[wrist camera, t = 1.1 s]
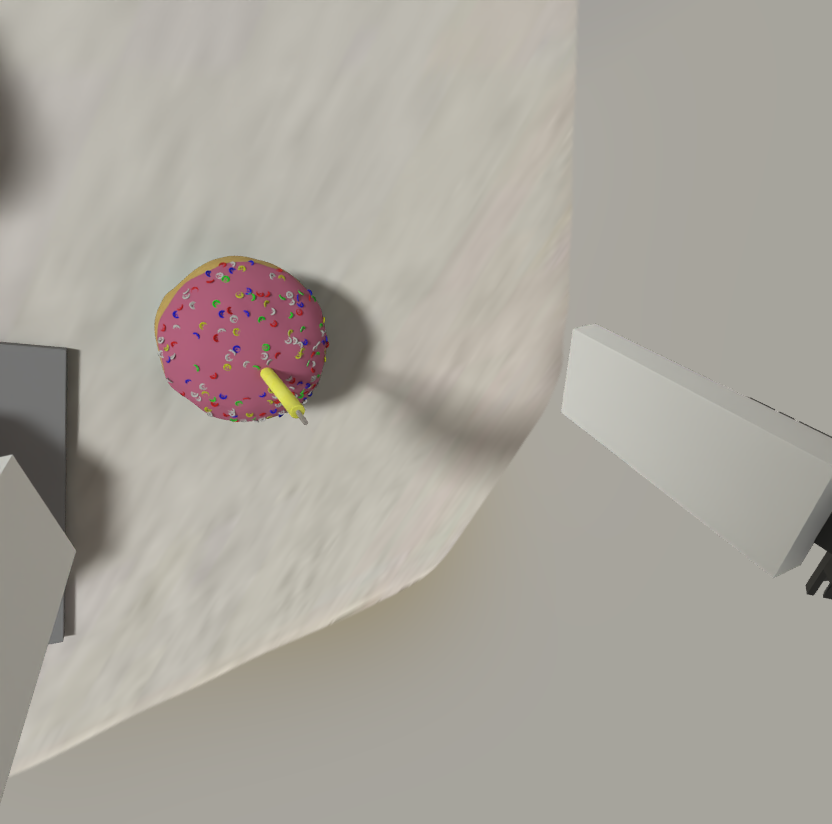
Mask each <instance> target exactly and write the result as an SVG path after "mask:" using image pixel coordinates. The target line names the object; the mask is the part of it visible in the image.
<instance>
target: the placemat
mask: <svg viewBox="0 0 832 824" xmlns="http://www.w3.org/2000/svg"><path fill="white" fill-rule="evenodd" d="M66 397H67V348H62V347H51V346H40V345H29V344H18V343H6V342H0V457H3V456H8V455H13V456H14V458H15V459H16V461H17V462H18V464H19V465H20V467H21V468H22V470H23V471H24V473H25V474H26V476H27V477H28V479H29V480H30V482H31V483H32V485H33V486H34V488H35V489H36V491H37V492H38V494H39V495H40V497H41V498H42V500H43V501H44V503H45V504H46V506H47V507H48V509H49V510H50V512H51V514H52V515H53V517H54V518H55V520H56V521H57V523H58V524H59V526H60V527H61V529H62V530H63V532H64V533H65V495H66ZM64 594H65V590H64V593H63V596H62V600H61V603H60V606H59V610H58V613H57V616H56V620H55V623H54V626H53V630H52V633H51V636H50V640H49V643H48V644H54V643H59V642H63V639H64Z"/></svg>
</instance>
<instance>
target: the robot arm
mask: <svg viewBox="0 0 832 824" xmlns="http://www.w3.org/2000/svg"><path fill="white" fill-rule="evenodd" d="M561 413H562V414H564V415H565V416H566V417H568V418H569V419H570V420H571V421H573V422H574V423H575V424H577V425H578V426H579V427H580V428H582V429H583V430H584V431H586V432H587V433H588V434H589V435H591V436H592V437H593V438H595V439H596V440H597V441H598V442H600V443H601V444H602V445H603V446H605V447H606V448H607V449H609V450H610V451H611V452H613V453H614V454H615V455H616V456H618V457H619V458H620V459H622V460H623V461H624V462H626V463H627V464H628V465H629V466H630V467H632V468H633V469H634V470H636V471H637V472H638V473H639V474H641V475H642V476H643V477H644V478H646V479H647V480H648V481H650V482H651V483H652V484H654V485H655V486H656V487H658V488H659V489H660V490H661V491H663V492H664V493H665V494H666V495H668V496H669V497H670V498H671V499H673V500H674V501H675V502H677V503H678V504H679V505H681V506H682V507H683V508H684V509H686V510H687V511H688V512H689V513H691V514H692V515H693V516H695V517H696V518H697V519H698V520H700V521H701V522H702V523H703V524H705V525H706V526H707V527H709V528H710V529H711V530H713V531H714V532H715V533H717V534H718V535H719V536H720V537H721V538H723V539H724V540H725V541H727V542H728V543H729V544H731V545H732V546H733V547H734V548H736V549H737V550H738V551H739V552H741V553H742V554H743V555H745V556H746V557H747V558H748V559H750V560H751V561H752V562H753V563H755V564H756V565H757V566H759V567H760V568H762V570H764V571H765V572H766V573H768V574H769V575H770V576H772V577H773V578H775V577H777V576H779V575H781V574H783V573H785V572H787V571H789V570H791V569H793V568H796V567H797V566H799V565H801V564H802V562H803V560H804V559H805V557H806V555H807V554H808V552H809V550H810V549H811V547H812V546H813V544H814V543H816V544H817V545H819V546H820V547H822V548H823V549H825V550H826V551H827V552H826V554H825V556H824V557H823V559H822V560H821V562H820V563H819V565H818V567H817V568H816V570H815V571H814V573H813V574H812V576H811V578H810V579H809V581H808V582H807V584H806V591H807V594H809V595H814V594H815V593H816V591H817V590H818V588H819V587H820V585H821V584H822V582H823V581H829V582H830V584H829V585H828V587H827V588H826V590H825V591H824V594H823V598H829V599H832V437H831V436H829V435H827V434H825V433H823V432H821V431H819V430H816V429H814V428H812V427H810V426H808V425H806V424H804V423H802V422H798V421H796V420H795V419H794V418H792V417H790V416H788V415H785V414H783V413H781V412H777V411H775V409H773V408H771V407H769V406H767V405H765V404H763V403H761V402H759V401H757V400H754V399H752V398H749V397H746V396H744V395H742V394H740V393H738V392H736V391H734V390H732V389H730V388H728V387H725V386H723V385H721V384H719V383H717V382H715V381H713V380H711V379H709V378H707V377H705V376H703V375H701V374H699V373H696V372H694V371H693V370H690V369H688V368H686V367H684V366H682V365H680V364H678V363H676V362H674V361H672V360H670V359H668V358H666V357H664V356H662V355H659V354H658V353H655V352H653V351H651V350H649V349H647V348H645V347H643V346H641V345H639V344H637V343H635V342H633V341H631V340H629V339H627V338H625V337H622V336H620V335H618V334H616V333H614V332H612V331H610V330H608V329H606V328H604V327H602V326H600V325H598V324H596V323H595V324H590V325H586V326H582V327H577V328H573V332H572V339H571V345H570V352H569V359H568V367H567V373H566V380H565V387H564V394H563V401H562V408H561ZM75 553H76V550H75V548H74V547H73V545H72V544H71V542H70V541H69V539H68V538H67V536H66V535H65V533H64V532H63V530H62V529H61V527H60V526H59V524H58V523H57V521H56V520H55V518H54V517H53V515H52V514H51V512H50V510H49V509H48V507H47V506H46V504H45V503H44V501H43V500H42V498H41V497H40V495H39V494H38V492H37V491H36V489H35V488H34V486H33V485H32V483H31V482H30V480H29V479H28V477H27V476H26V474H25V473H24V471H23V470H22V468H21V467H20V465H19V464H18V462H17V461H16V459H15V458H14V456H13V455H8V456H3V457H0V802H1V799H2V796H3V792H4V789H5V786H6V782H7V779H8V776H9V773H10V769H11V766H12V763H13V759H14V756H15V753H16V749H17V746H18V743H19V739H20V736H21V733H22V729H23V726H24V723H25V719H26V716H27V713H28V709H29V706H30V703H31V699H32V696H33V693H34V689H35V686H36V683H37V679H38V676H39V673H40V670H41V666H42V663H43V660H44V656H45V653H46V650H47V646H48V643H49V640H50V636H51V633H52V630H53V626H54V623H55V620H56V616H57V613H58V610H59V606H60V603H61V600H62V596H63V593H64V590H65V586H66V583H67V580H68V576H69V573H70V570H71V567H72V563H73V560H74V557H75Z"/></svg>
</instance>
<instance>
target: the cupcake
mask: <svg viewBox="0 0 832 824" xmlns="http://www.w3.org/2000/svg"><path fill="white" fill-rule="evenodd" d="M324 322H325V317H323V316H322V311H321V308H320V306H319V304H318V303H317V301H316V299H315V297H314V296H312V291H311V290H307V289H306V288H305V287H304V286H303V285H302V284H301V283H300V282H299V281H298V280H297V279H296V278H294V277H293V276H292V275H290V274H289V273H287V272H286V271H284V270H283V269H281V268H279V267H277V266H275V265H273V264H271V263H268V262H265V261H261V260H257V259H253V258H249V257H243V256H227V257H223V258H218V259H215V260H212V261H209V262H207V263H205V264H203V265H202V266H200V267H198V268H197V269H195V270H194V271H193V272H191V273H190V274H189V275H188V276H187V277H186V278H185V279H184V280H182V281H181V282H180V283H179V284H178V285H177V286H176V287H175V288H174V289H172V290H171V291H170V292H168V293H167V294H166V295H165V297H164V298H163V300H162V302H161V304H160V306H159V309H158V311H157V314H156V318H155V337H156V342H157V346H158V351H159V352H158V356H159V357H160V360H161V363H162V367H163V370H164V373H165V376H166V379H167V381H168V383H169V384H170V386H171V387H172V388H173V389H174V390H176V391H177V392H178V393H180V394H181V395H182V396H184V397H186V398H187V399H189V400H190V401H191V402H193V403H194V404H195V405H197V406H198V407H199V408H200V409H201V410H203V411H204V412H206V413H207V414H208V415H209V416H210V417H212V416H214V417H216V418H220V419H224V420H230V421H233V422H239V421H241V422H246V421H254V422H259V421H258V420H260V421H265V420H266V419H269V418H272V417H275V416H278V415H279V417H282V416H283V414H284V413H289V414H290V415H291V416H292V417H293V418H299V419H300V420H301V421H302V423H303V424H304V425H307V424H308V422H307V420H306V418H305V417H304V416H303V415H304V412H305V409H304V407H303V405H302V404H301V403H303V404H305V403H307V401H308V400H307V397H308V396H311V395H312V391H313V389H314V388H316V387H318V385H319V383H318V382H319V379H320V376H321V373H322V369H323V365H324V362H326V357H325V354H326V348H327V347H328V346H329V342H328V341H327V335H326V330H325V326H324ZM327 344H328V345H327ZM304 400H305V401H306V402H305V401H304ZM303 401H304V402H303Z"/></svg>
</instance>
